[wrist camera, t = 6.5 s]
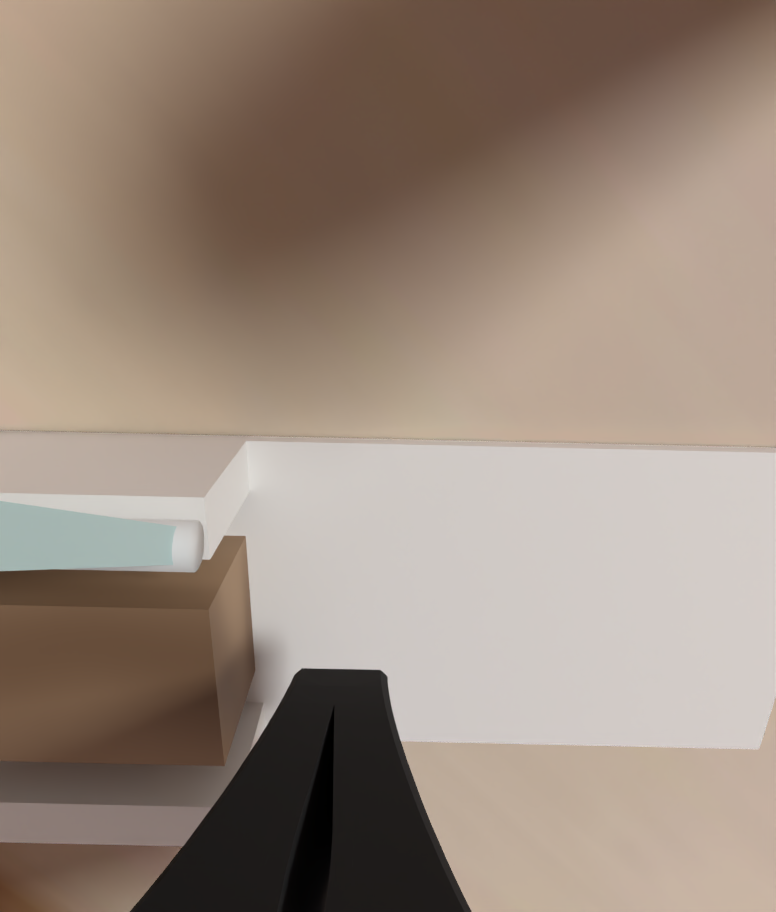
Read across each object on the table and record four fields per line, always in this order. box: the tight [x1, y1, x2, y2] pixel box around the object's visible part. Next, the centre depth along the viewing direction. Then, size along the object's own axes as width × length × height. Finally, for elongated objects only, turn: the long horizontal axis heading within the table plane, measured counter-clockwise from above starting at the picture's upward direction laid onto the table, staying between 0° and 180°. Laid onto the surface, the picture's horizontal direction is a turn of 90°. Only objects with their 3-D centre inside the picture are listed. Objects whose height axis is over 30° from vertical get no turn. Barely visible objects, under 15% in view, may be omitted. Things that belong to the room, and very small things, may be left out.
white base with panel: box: [0, 430, 776, 846], centre depth 11 cm, size 7×26×3 cm, turn 89°
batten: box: [0, 536, 255, 766], centre depth 11 cm, size 3×8×2 cm, turn 89°
